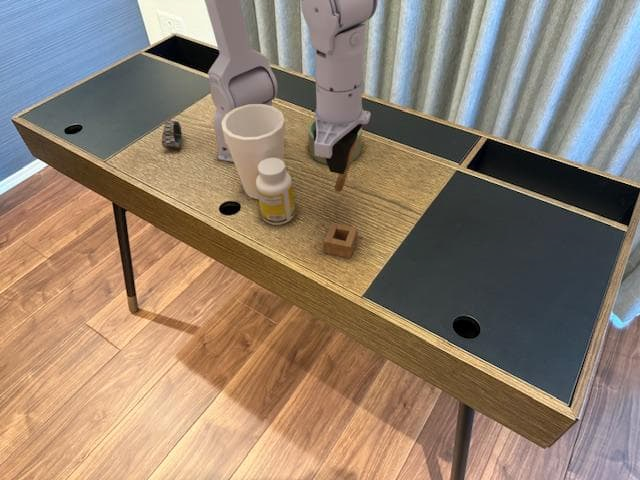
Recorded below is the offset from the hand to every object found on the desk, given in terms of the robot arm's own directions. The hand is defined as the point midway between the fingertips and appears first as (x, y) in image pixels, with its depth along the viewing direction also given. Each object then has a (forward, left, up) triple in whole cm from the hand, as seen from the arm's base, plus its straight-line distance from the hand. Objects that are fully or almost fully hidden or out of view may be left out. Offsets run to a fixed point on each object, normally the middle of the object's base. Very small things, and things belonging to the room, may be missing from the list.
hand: (338, 167), depth 69 cm
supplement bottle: (-10, -2, -11) cm, 14 cm away
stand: (+2, -5, -10) cm, 12 cm away
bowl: (-6, +17, -10) cm, 21 cm away
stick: (0, 0, -4) cm, 4 cm away
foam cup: (-14, +4, -11) cm, 18 cm away
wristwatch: (-35, +10, -11) cm, 38 cm away
